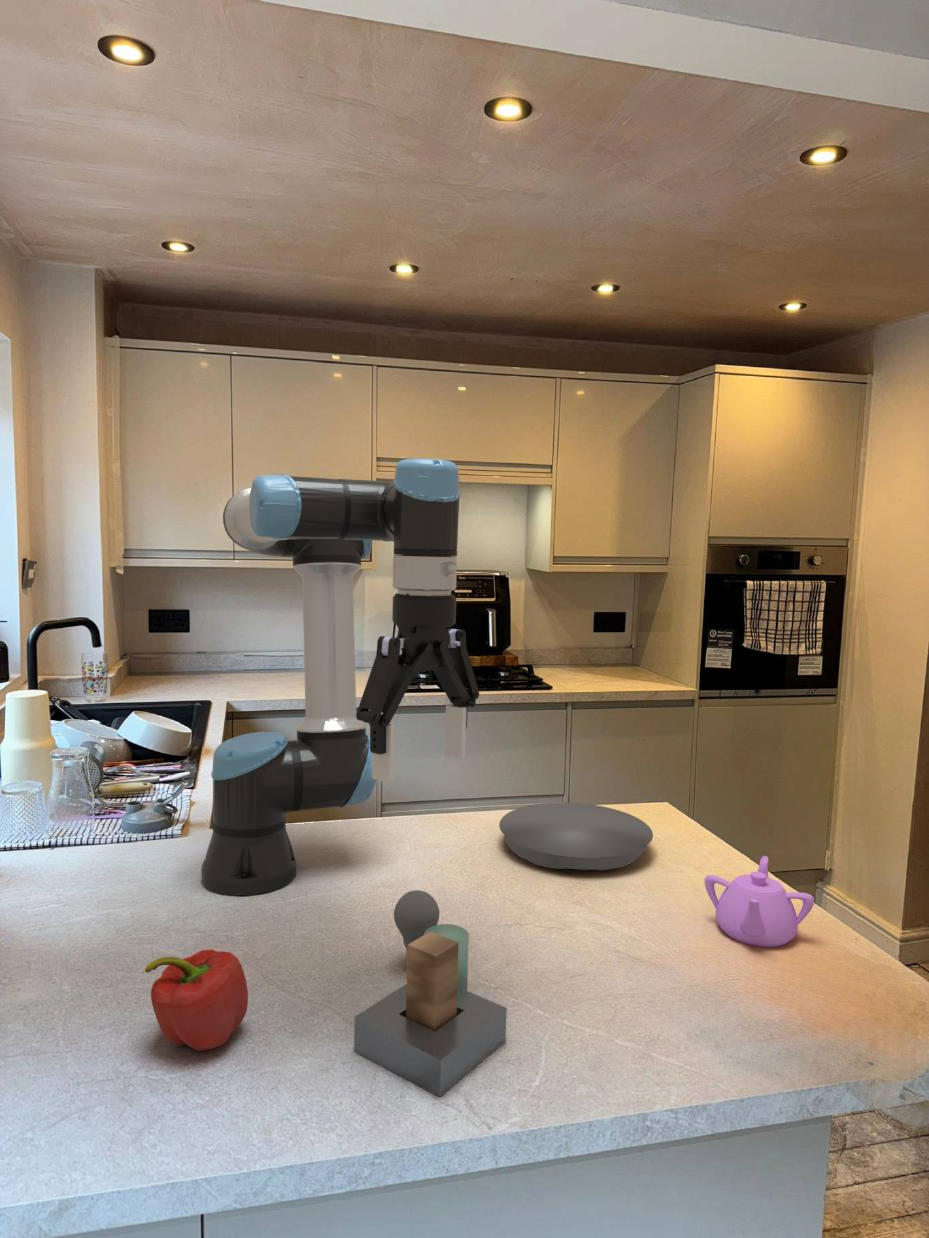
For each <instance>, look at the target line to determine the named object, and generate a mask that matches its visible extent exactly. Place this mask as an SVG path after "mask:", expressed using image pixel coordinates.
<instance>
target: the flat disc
mask: <svg viewBox="0 0 929 1238" xmlns="http://www.w3.org/2000/svg"><path fill="white" fill-rule="evenodd" d="M499 829H500V831H501V833H502V834H503V837H504V840H505V842H506V843H507V846H508V847H509V849H511V851H512V853H514V854H516V855H517V856H518V857H519V858H522V859H525V860H528V862H530V863H532V864H534V865H536V866H540V867H545V868H547V869H555V870H557V869H558V870H559V869H561V870H565V869H572V870H580V871H587V870H592V871H595V870H597V871H606V870H608V871H609V870H613V869H621V868H622V867H626V866H627V865H629V864H633V863H634V862H635V861H636V860H637V859H638V858H640V856H641V854H642V853H644V852H646V849H647V848H648V847H647V846H648V845H649V844H651V842H652V840H653V837H654V833H653V830H652V829H651V827H650V826H649V824H648V823H646V822H644V821H643V820H642V819H641V818H639V817H636V816H634V815H632V814H630V813H627V812H625V811H622V810H619V809H615V808H611V807H606V806H603V805H596V804H590V803H589V804H588V803H579V802H546V803H545V802H544V803H543V802H542V803H537V804H536V803H535V804H530V805H526V806H522V807H519V808H516V809H512V810H511V811H509V812H507V813H506V814H504V815H503V816H502V818H501V819H500V821H499Z"/></svg>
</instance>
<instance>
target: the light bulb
mask: <svg viewBox="0 0 929 1238" xmlns="http://www.w3.org/2000/svg"><path fill="white" fill-rule="evenodd" d="M393 919H394V924H395V926H396V928H397V929H398V931H399V933H400V936H401V937H402V939H403V945H404V947H405V963H406V964H407V945H408V944H410V943H412V942H413V941H415V940H417V939H418V938H420V937H422V936H424V932H425V931H426V930H427V929H428V928H430V927H432V926H435V925H439V920H440V908H439V905H438V903H437V901H436V899H435V898H434V897H433V896H432V895H431V894H430V893H428V892H427V891H424V890H419V889H417V890H416V889H415V890H410V891H408V892H406V893H404V894H403V895H402V896H401V897H399V900H398V901H397V902H396V905H395V907H394V909H393Z"/></svg>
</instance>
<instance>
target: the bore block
mask: <svg viewBox="0 0 929 1238" xmlns="http://www.w3.org/2000/svg"><path fill="white" fill-rule="evenodd" d="M406 993H407V983H406V984H403V985H402V986H401V987H399V988H398V989H396V990H394V991H393V992H391V993H390V994H388V995H387V996H385V997H383V998H382V999H381V1000H379V1001H377V1002H376V1003H374V1004H372V1005H371V1006H369V1007H367V1008H366V1009H365V1010H363V1011H361V1012H360V1013H359V1014H357V1015H355V1016H354V1027H353V1028H354V1029H353V1030H354V1032H353V1033H354V1034H353V1035H354V1036H353V1038H354V1039H353V1042H354V1043H353V1052H354V1053H356V1054H358V1055H360V1056H362V1057H363V1058H366V1059H368V1060H369V1061H371V1062H373V1063H374V1064H377V1065H378V1066H380V1067H382V1068H384V1069H386V1070H388V1071H390V1072H392V1073H394V1074H395V1075H397V1076H399V1077H401V1078H403V1079H405V1080H407V1081H408V1082H410V1083H413V1084H414V1085H416V1086H418V1087H420V1088H422V1089H424V1090H425V1091H427V1092H430V1093H431V1094H433V1095H435V1096H437V1097H439V1098H441V1097H442V1096H443V1095H444V1094H446V1093H447V1092H448V1091H449V1090H450V1089H452V1087H453V1088H454V1086H455V1085H456V1084H458V1083H459V1082H460V1081H461V1080H462V1079H464V1077H465V1076H467V1075H468V1074H469V1073H470V1072H471V1071H473V1070H474V1069H476V1067H478V1066H479V1064H481V1063H482V1062H484V1061H485V1060H486V1059H487V1058H488V1057H489V1056H490V1055H492V1053H494V1052H495V1051H496V1050H497V1049H498V1048H499V1047H501V1046H502V1045H504V1043H505V1042H506V1041H507V1037H506V1036H507V1009H508V1008H507V1007H506V1006H503V1005H501V1004H499V1003H497V1002H495V1001H492V1000H489V999H487V998H485V997H483V996H480V995H478V994H475V993H473V992H470V991H469V990H467V991H466V990H464V989H461V988H459V987H457V1016H456V1017H455V1018H453V1019H452V1020H451V1021H449V1022H448V1023H447V1024H445V1025H444V1026H443V1027H441V1028H440V1029H439V1030H437V1031H436V1032H435V1031H433V1030H430V1029H428V1028H426V1027H424V1026H422V1025H420V1024H418V1023H416V1022H414V1021H412V1020H409V1019H407V1018H406Z"/></svg>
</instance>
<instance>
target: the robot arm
mask: <svg viewBox="0 0 929 1238" xmlns="http://www.w3.org/2000/svg"><path fill="white" fill-rule="evenodd" d="M394 472H395V473H394V478H393V481H388V480H387V481H386V480H384V481H383V480H366V479H352V478H351V479H348V478H347V479H346V478H324V477H310V476H295V475H288V474H275V475H274V474H273V475H272V474H271V475H268V474H267V475H266V474H264V475H262V474H261V475H258V476H256V477H254V479H253V480H252V483H251V487H250V488H249V487H248V488H245V489H243V490H240V491H238V492H236V493H235V494H233V495H232V497H230V498H229V499H228V501H227V502H226V504H225V506H224V509H223V512H222V524H223V527H224V531H225V533H226V535H227V536H228V538H229V539H230V540H231V541H232V542H233V543H235V544H236V545H237V546H239V547H240V548H242V549H245V550H247V551H250V552H252V553H255V554H259V555H265V556H270V557H284V558H285V557H287V558H288V557H289V558H292V569H293V570H294V571H295V572H296V573H297V574H298V575H299V576H300V577H301V580H302V613H303V614H302V620H303V621H302V624H303V627H302V628H303V662H304V663H303V664H304V702H305V703H304V704H305V706H304V707H305V708H304V709H305V710H304V711H305V712H304V713H305V718H304V720H303V721H302V722H301V723H300V724H299V725H298V727H297V728H296V740H288V738H287V736H286V734H284V733H283V732H280V731H273V730H272V731H268V732H267V731H257V732H250V733H245V734H239V735H237V736H234V737H232V738H228V739H227V740H225V741H223V742H222V743H220V744H219V745H218V746H217V747H216V748H215V750H214V753H213V757H212V771H211V772H210V773H211V774H210V776H211V779H212V834H211V838H210V841H209V845H208V848H207V852H206V855H205V859H203V860H204V861H203V863H202V865H201V883H202V885H203V886H204V887H205V888H206V889H208V890H209V891H212V892H215V893H219V894H223V895H231V896H250V895H259V894H264V893H269V892H273V891H275V890H279V889H281V888H283V887H285V886H287V885H289V884H290V883H291V882H293V880H294V879H295V878H296V876H297V858H296V856H295V854H294V849H293V846H292V843H291V839H290V837H289V834H288V832H287V829H286V828H287V825H286V823H287V822H286V821H287V819H286V818H287V813H290V812H291V813H292V812H302V811H309V810H317V809H327V808H328V809H330V808H338V807H339V808H345V807H348V806H353V805H359V804H362V803H364V802H366V801H367V800H368V799H369V798H370V796H372V793H373V791H374V789H375V786H376V782H377V781H380V782H383V783H387V784H391V783H394V782H395V755H396V751H395V750H396V747H395V746H396V744H395V743H396V725H394V724H390V723H391V722H392V720H393V717H394V716H395V713H396V712H397V709H398V708H399V706H400V704H401V702H402V701H403V699H404V696H405V694H406V693H407V690H408V689H409V688H410V685H411V683H412V681H413V680H414V679H415V678H417V677H418V676H419V675H420V673H426V672H427V671H429V670H430V671H432V672H433V673H434V676H435V677H436V679H437V680H438V683H439V684H440V686H441V688H442V690H443V692H444V693H445V694H446V695H445V696H447V699H448V700H449V702H450V704H447V705H445V723H444V727H445V728H444V733H445V734H444V756H445V757H448V758H449V757H450V758H452V759H458V760H464V759H466V745H467V744H466V742H467V741H466V740H467V738H466V737H467V736H466V735H467V728H468V707H469V708H474V707H475V706H476V702H477V701H476V700H478V699H479V698H480V697H479V696H480V691H479V688H478V684H477V683H478V682H477V680H476V677H475V673H474V669H473V666H472V663H471V658H470V655H469V652H468V649H467V634H466V630H465V629H459V628H458V629H456V628H451V627H453V626H454V625H455V624H456V622H457V598H456V597H455V595H454V594H452V591H455V590H457V563H458V562H457V561H458V558H457V556H458V541H459V540H458V537H459V515H460V514H459V512H460V509H459V508H460V498H461V490H460V475H459V474H460V473H459V468H458V466H457V465H456V463H455V462H452V461H451V460H445V459H436V458H435V459H434V458H407V459H402V460H400V461H398V462H397V463H396V467H395V471H394ZM373 541H378V542H379V541H381V542H393V561H392V563H393V565H392V571H393V572H392V587H393V588H394V589H395V590H397V593H394V596H392V620H391V621H392V624H394V625H395V626H397V628H398V631H397V636H396V637H394V636H387V635H386V636H384V635H379V637H378V638H377V643H376V653H375V658H374V661H373V664H372V667H371V670H370V672H369V676H368V679H367V681H366V685H365V688H364V691H363V694H362V697H361V699H360V702H359V705H358V708H357V693H356V691H357V689H356V688H357V686H356V655H355V652H356V649H355V644H356V643H355V615H354V614H355V613H354V612H355V611H354V580H353V579H354V576H355V575H356V574H357V573H358V572H359V571H360V570H361V569H362V559H363V560H364V559H366V558H367V557H369V555H370V554H371V551H372V542H373ZM467 687H468V688H467ZM365 723H367V724H368V725H369V729H370V730H369V734H368V733H367V731H366V729H367V728H366V724H365Z"/></svg>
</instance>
